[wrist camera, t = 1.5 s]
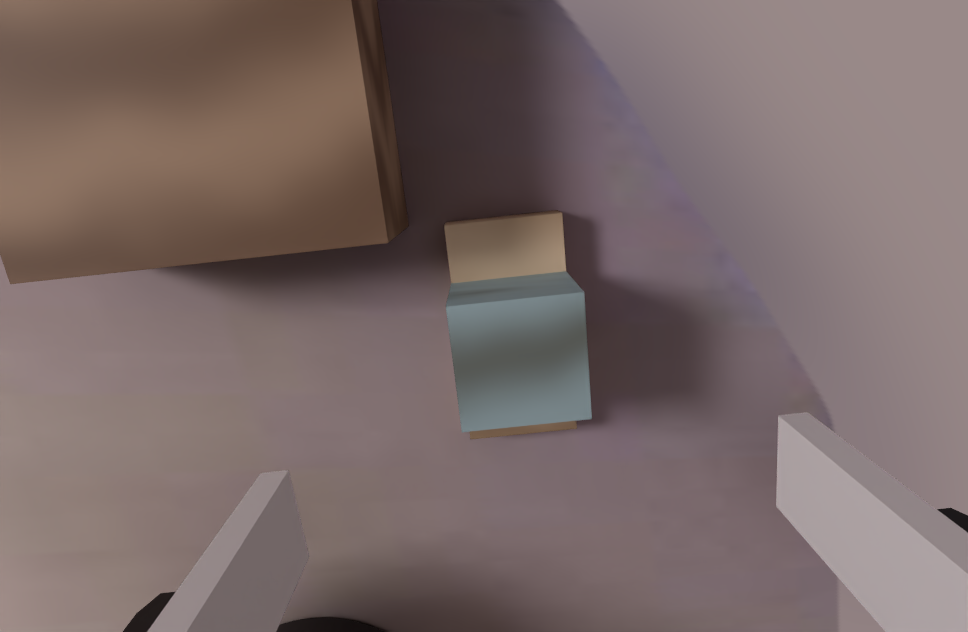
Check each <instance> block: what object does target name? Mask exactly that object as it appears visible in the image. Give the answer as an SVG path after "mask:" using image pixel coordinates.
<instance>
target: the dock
mask: <svg viewBox="0 0 968 632" xmlns="http://www.w3.org/2000/svg"><path fill="white" fill-rule="evenodd" d="M408 226H409V224H408V217H407V210H406V203H405V195H404V188H403V181H402V174H401V167H400V160H399V153H398V146H397V139H396V132H395V125H394V118H393V111H392V104H391V97H390V90H389V83H388V76H387V68H386V61H385V54H384V47H383V40H382V33H381V26H380V19H379V12H378V5H377V0H0V255H1V258H2V261H3V264H4V267H5V270H6V273H7V276H8V279H9V282H10V284H16V283H25V282H34V281H43V280H53V279H62V278H71V277H80V276H89V275H99V274H108V273H117V272H126V271H135V270H144V269H154V268H163V267H172V266H181V265H190V264H199V263H209V262H218V261H227V260H236V259H245V258H255V257H264V256H273V255H282V254H291V253H300V252H310V251H319V250H328V249H337V248H346V247H356V246H365V245H374V244H383V243H389V242H390V241H391V240H392V239H394V238H395V237H396V236H397V235H398V234H400V233H401V232H402V231H403V230H404V229H406V228H407V227H408Z"/></svg>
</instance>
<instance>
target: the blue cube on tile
mask: <svg viewBox="0 0 968 632" xmlns="http://www.w3.org/2000/svg"><path fill="white" fill-rule="evenodd" d="M444 229H445V237H446V245H447V253H448V261H449V269H450V278H451V287H450V291H449V295H448V300H447V304H446V312H447V319H448V327H449V335H450V343H451V351H452V358H453V366H454V374H455V382H456V390H457V397H458V405H459V413H460V421H461V429H462V432H469V431H470V439H479V438H489V437H499V436H509V435H519V434H528V433H538V432H548V431H558V430H568V429H577V423H576V421H577V420H587V419H592V414H591V397H590V380H589V364H588V347H587V330H586V314H585V297H584V291H583V290H582V289H581V288H580V287H579V285H578V284H577V283H576V282H575V281H574V280H573V279H572V277H571V276H570V275H569V274H568V273H567V272H566V262H565V247H564V233H563V218H562V212H560V211H558V210H555V211H546V212H536V213H527V214H518V215H509V216H499V217H490V218H481V219H472V220H462V221H453V222H446V223H445V225H444Z"/></svg>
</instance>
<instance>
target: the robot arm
mask: <svg viewBox="0 0 968 632" xmlns="http://www.w3.org/2000/svg"><path fill="white" fill-rule="evenodd" d="M776 507H777V508H778V509H779V510H780V511H781V512H782V513H783V515H784V516H785V517H786V518H787V519H788V520H789V521H790V523H791V524H792V525H793V526H794V527H795V528H796V529H797V531H798V532H799V533H800V534H801V535H802V536H803V538H804V539H805V540H806V541H807V542H808V543H809V544H810V546H811V547H812V548H813V549H814V550H815V551H816V552H817V554H818V555H819V556H820V557H821V558H822V559H823V561H824V562H825V563H826V564H827V565H828V566H829V567H830V569H831V570H832V571H833V572H834V573H835V574H836V575H837V577H838V578H839V579H840V580H841V581H842V582H843V583H844V585H845V586H846V587H847V588H848V589H849V590H850V591H851V593H852V594H853V595H854V596H855V597H856V598H857V600H859V602H860V603H861V604H862V605H863V606H864V608H865V609H866V610H867V611H868V612H869V613H870V615H871V616H872V617H873V618H874V619H875V620H876V621H877V623H878V624H879V625H880V626H881V627H882V628H883V629H884V631H885V632H968V516H967V515H965V514H963V513H960V512H959V511H956V510H954V509H952V508H946V509H936V508H934V507H932V506H931V505H930V504H929V503H927V502H926V501H925V500H924V499H922V498H921V497H920V496H918V495H917V494H916V493H914V492H913V491H912V490H910V489H909V488H908V487H906V486H905V485H904V484H902V483H901V482H899V481H898V480H897V479H896V478H894V477H893V476H892V475H890V474H889V473H888V472H886V471H885V470H884V469H882V468H881V467H879V466H878V465H877V464H875V463H874V462H873V461H872V460H870V459H869V458H868V457H866V456H865V455H864V454H862V453H861V452H860V451H858V450H857V449H856V448H854V447H853V446H852V445H850V444H849V443H848V442H846V441H845V440H844V439H842V438H841V437H840V436H838V435H837V434H836V433H834V432H833V431H832V430H830V429H829V428H828V427H826V426H825V425H824V424H823V423H821V422H820V421H819V420H817V419H816V418H815V417H813V416H812V415H811V414H809V413H808V412H806V413H797V414H788V415H779V416H778V453H777V496H776ZM308 558H309V553H308V548H307V544H306V540H305V536H304V532H303V528H302V523H301V519H300V515H299V511H298V507H297V503H296V498H295V494H294V490H293V486H292V482H291V478H290V473H289V470H284V471H275V472H266V473H261V474H260V475H259V476H258V478H257V479H256V481H255V482H254V483H253V485H252V486H251V488H250V489H249V490H248V492H247V493H246V494H245V496H244V497H243V499H242V500H241V501H240V503H239V504H238V506H237V507H236V508H235V510H234V511H233V513H232V514H231V515H230V517H229V518H228V520H227V521H226V522H225V524H224V525H223V527H222V528H221V529H220V531H219V532H218V534H217V535H216V536H215V538H214V539H213V541H212V542H211V543H210V545H209V546H208V548H207V549H206V550H205V552H204V553H203V555H202V556H201V557H200V559H199V560H198V561H197V563H196V564H195V566H194V567H193V568H192V570H191V571H190V573H189V574H188V575H187V577H186V578H185V580H184V581H183V582H182V584H181V585H180V587H179V588H178V589H177V591H176V592H170V593H161V594H159V595H158V596H157V597H156V598H155V599H153V600H152V601H151V602H150V603H149V604H147V605H146V606H145V607H144V608H143V609H141V610H140V611H139V612H138V613H137V614H136V615H135V616H134V618H133V619H132V620H131V622H130V623H129V624H128V625H127V627H126V628H125V629H124V631H123V632H384V631H382V630H379V629H377V628H375V627H372V626H369V625H366V624H363V623H359V622H355V621H350V620H345V619H337V618H310V619H302V620H296V621H292V622H288V623H284V624H281V625H279V624H280V622H281V620H282V617H283V615H284V613H285V611H286V608H287V606H288V604H289V601H290V599H291V597H292V595H293V592H294V590H295V588H296V586H297V583H298V581H299V579H300V576H301V574H302V572H303V570H304V567H305V565H306V563H307V560H308Z"/></svg>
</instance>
